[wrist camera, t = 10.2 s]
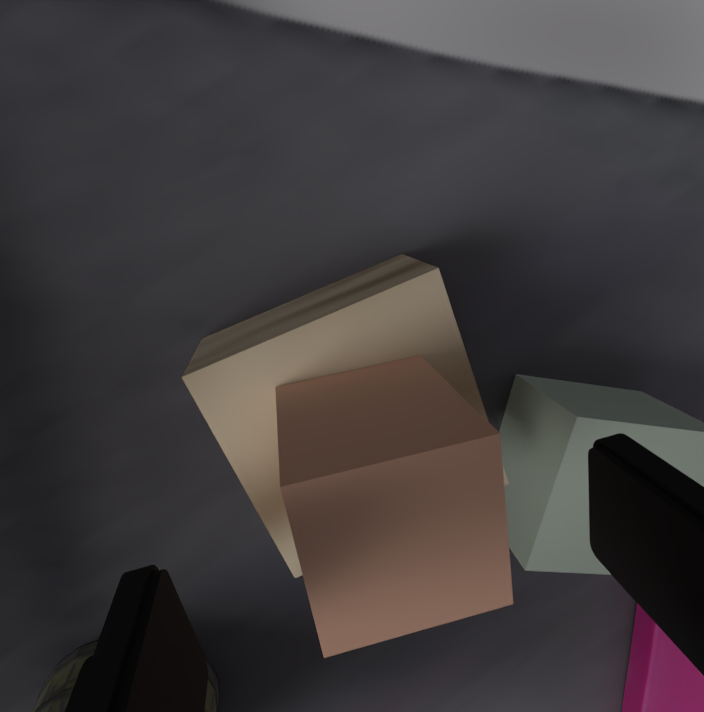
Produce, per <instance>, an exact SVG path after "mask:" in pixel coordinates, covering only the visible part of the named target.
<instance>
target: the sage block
mask: <svg viewBox="0 0 704 712" xmlns="http://www.w3.org/2000/svg"><path fill="white" fill-rule="evenodd" d="M499 433H500V438H501V450H502V463H503V467H504V470H505V473H506V476H507V479H508V482H509V484H508V485H506V486H504V489H505V502H506V515H507V528H508V541H509V548H510V550H511V551H512V552H513V554H514V555H515V557H516V558H517V560H518V561H519V563H520V564H521V565H522V567H523V568H524V570H525V571H542V572H564V573H586V574H607V575H611V574H610V572H609V571H608V570H607V569H606V568H605V567H604V566H603V565H602V564H601V563H600V561H599V560H598V559H597V558H596V557H595V555H594V553H593V551H592V549H591V546H590V534H589V483H588V451H589V449H591V448H593V444H594V442H595V441H596V440H597V439H601V438H604V437H608V436H611V435H615V434H618V433H623V434H625V435H627V436H629V437H630V438H632V439H633V440H635V441H636V442H638V443H639V444H641V445H642V446H644V447H645V448H647V449H648V450H650V451H651V452H653V453H654V454H656V455H657V456H658V457H660V458H661V459H663V460H664V461H666V462H667V463H669V464H670V465H672V466H673V467H675V468H676V469H678V470H679V471H681V472H682V473H684V474H685V475H687V476H688V477H690V478H691V479H693V480H694V481H696V482H697V483H699V484H700V485H702V486H703V487H704V422H702V421H700V420H698V419H696V418H694V417H692V416H690V415H688V414H686V413H684V412H682V411H680V410H678V409H676V408H674V407H672V406H670V405H668V404H666V403H664V402H662V401H660V400H658V399H656V398H654V397H652V396H650V395H648V394H646V393H644V392H642V391H636V390H628V389H621V388H614V387H606V386H599V385H592V384H584V383H577V382H570V381H562V380H555V379H548V378H541V377H533V376H526V375H519V374H516V375H515V379H514V382H513V385H512V389H511V392H510V396H509V399H508V403H507V406H506V409H505V413H504V416H503V420H502V423H501V426H500V430H499Z"/></svg>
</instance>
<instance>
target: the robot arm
mask: <svg viewBox="0 0 704 712" xmlns="http://www.w3.org/2000/svg"><path fill="white" fill-rule="evenodd" d="M588 483H589V534H590V546H591V549H592V551H593V553H594V555H595V557H596V558H597V559H598V560H599V561H600V563H601V564H602V565H603V566H604V567H605V568H606V569H607V570H608V571H609V572H610V574H611V575H612V576H613V577H614V578H615V579H616V580H617V581H618V582H619V583H620V585H621V586H622V587H623V588H624V589H625V590H626V591H627V592H628V593H629V594H630V595H631V597H632V598H633V599H634V600H635V601H636V602H637V603H638V604H639V605H640V606H641V608H642V609H643V610H644V611H645V612H646V613H647V614H648V615H649V616H650V617H651V619H652V620H653V621H654V622H655V623H656V624H657V625H658V626H659V627H660V628H661V630H662V631H663V632H664V633H665V634H666V635H667V636H668V637H669V638H670V639H671V641H672V642H673V643H674V644H675V645H676V646H677V647H678V648H679V649H680V650H681V652H682V653H683V654H684V655H685V656H686V657H687V658H688V659H689V660H690V661H691V663H692V664H693V665H694V666H695V667H696V668H697V669H698V670H699V671H700V672H701V673H702V675H703V676H704V487H703V486H702V485H700V484H699V483H697V482H696V481H694V480H693V479H691V478H690V477H688V476H687V475H685V474H684V473H682V472H681V471H679V470H678V469H676V468H675V467H673V466H672V465H670V464H669V463H667V462H666V461H664V460H663V459H661V458H660V457H658V456H657V455H656V454H654V453H653V452H651V451H650V450H648V449H647V448H645V447H644V446H642V445H641V444H639V443H638V442H636V441H635V440H633V439H632V438H630V437H629V436H627V435H625V434H623V433H618V434H615V435H611V436H608V437H604V438H601V439H597V440H596V441H595V442H594V444H593V448H591V449H589V451H588ZM207 684H208V668H207V662H206V659H205V657H204V654H203V652H202V650H201V647H200V645H199V643H198V640H197V638H196V636H195V633H194V631H193V629H192V626H191V624H190V622H189V619H188V617H187V615H186V613H185V610H184V608H183V606H182V603H181V601H180V599H179V596H178V594H177V592H176V589H175V587H174V585H173V582H172V580H171V578H170V576H169V573H168V572H167V570H165V569H163V570H160V571H159V570H158V568H157V567H156V566H155V565H150V566H146V567H143V568H139V569H136V570H132V571H129V572H125V573H124V574H123V575H122V577H121V579H120V582H119V585H118V588H117V590H116V593H115V596H114V599H113V601H112V604H111V607H110V610H109V613H108V615H107V618H106V621H105V624H104V627H103V629H102V632H101V635H100V638H99V641H98V643H97V646H96V649H95V652H94V654H93V655H92V656H89V657H88V658H87V659H86V660H85V661H84V663H83V665H82V667H81V669H80V672H79V674H78V677H77V680H76V682H75V685H74V688H73V690H72V693H71V696H70V698H69V701H68V704H67V706H66V709H65V712H205V703H206V693H207Z"/></svg>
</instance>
